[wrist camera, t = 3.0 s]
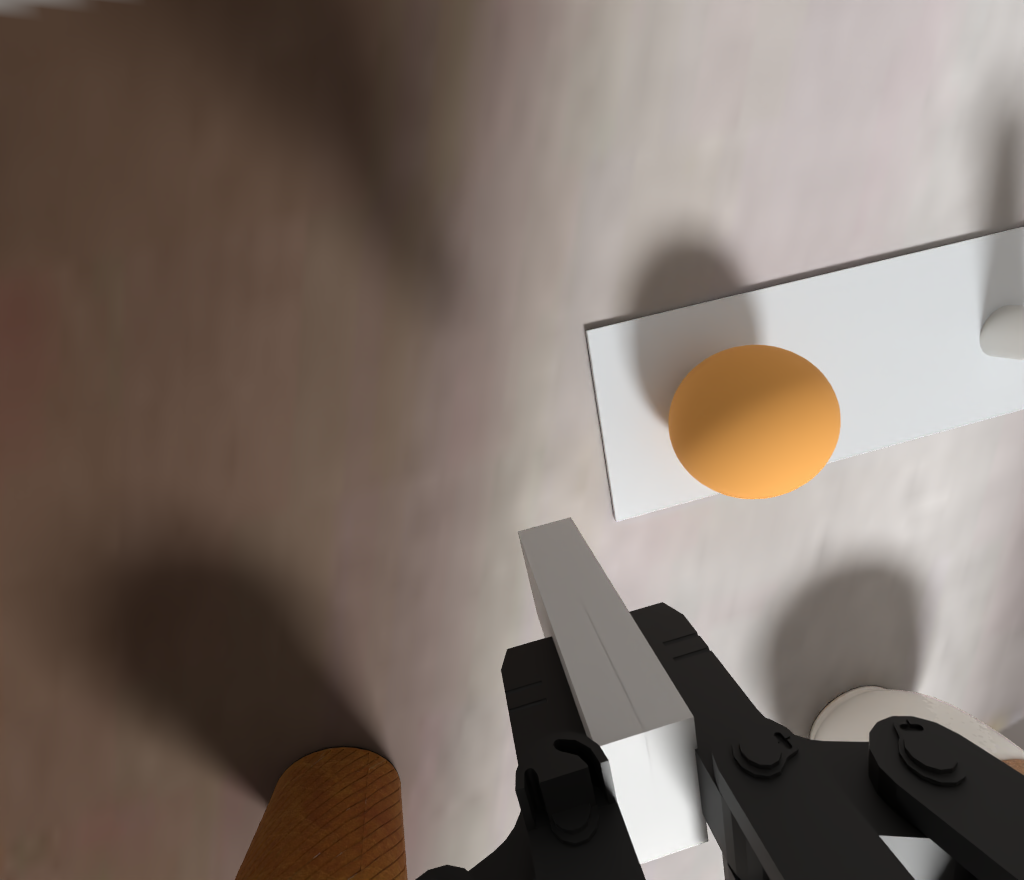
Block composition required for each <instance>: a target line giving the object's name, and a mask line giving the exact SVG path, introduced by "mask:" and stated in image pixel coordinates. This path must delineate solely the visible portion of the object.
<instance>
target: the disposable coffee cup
mask: <svg viewBox="0 0 1024 880" xmlns="http://www.w3.org/2000/svg"><path fill="white" fill-rule="evenodd" d="M235 880H407V868H406V854H405V841H404V827H403V813H402V799H401V782H400V779H399V776H398V773H397V771H396V770H395V769H394V767H393V766H392V764H390V763H389V762H388V761H387V760H386V759H384V758H383V757H381V756H379V755H378V754H376V753H373V752H371V751H368V750H363V749H358V748H349V747H340V748H330V749H326V750H322V751H318V752H315V753H312V754H310V755H307V756H305V757H303V758H301V759H300V760H298V761H297V762H295V763H294V764H292V765H291V766H290V767H289V768H288V769H287V770H286V771H285V772H284V773H283V775H282V776H281V777H280V779H279V780H278V783H277V785H276V787H275V790H274V792H273V794H272V797H271V799H270V802H269V804H268V806H267V808H266V811H265V813H264V815H263V818H262V820H261V822H260V824H259V826H258V829H257V831H256V833H255V836H254V838H253V840H252V842H251V845H250V847H249V849H248V851H247V854H246V856H245V858H244V861H243V863H242V865H241V867H240V869H239V871H238V874H237V876H236V878H235Z"/></svg>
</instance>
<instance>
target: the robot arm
mask: <svg viewBox="0 0 1024 880" xmlns="http://www.w3.org/2000/svg"><path fill="white" fill-rule="evenodd" d="M518 534H519V538H520V542H521V547H522V551H523V555H524V559H525V564H526V568H527V572H528V576H529V581H530V585H531V589H532V594H533V598H534V602H535V606H536V611H537V614H538V617H539V620H540V624H541V627H542V630H543V633H544V636H545V638H544V639H540V640H537V641H534V642H530V643H527V644H523V645H520V646H516V647H513V648H510V649H507V652H506V655H505V658H504V662H503V665H502V669H501V672H502V678H503V683H504V689H505V694H506V700H507V705H508V710H509V716H510V722H511V727H512V733H513V738H514V744H515V749H516V755H517V760H518V768H517V770H516V786H515V791H516V794H517V798H518V801H519V804H520V808H521V812H520V815H519V817H518V820H517V822H516V825H515V827H514V829H513V830H512V831H511V833H510V834H509V836H508V837H507V839H506V840H505V841H504V842H503V843H502V844H501V845H500V846H499V847H498V848H497V849H496V850H495V851H494V852H493V853H491V854H490V855H489V856H488V857H486V858H485V859H484V860H482V861H481V862H480V863H478V864H477V865H476V866H475V867H473V868H472V869H471V870H469V871H467V870H466V869H464V868H460V867H455V866H450V865H445V866H441V867H437V868H434V869H430V870H428V871H426V872H425V873H424V874H422V875H421V876H420V877H418V878H417V879H416V880H646V879H645V877H644V874H643V871H642V868H641V866H640V864H643V863H646V862H649V861H652V860H655V859H658V858H661V857H663V856H666V855H669V854H672V853H675V852H678V851H681V850H684V849H687V848H690V847H693V846H696V845H699V844H702V843H705V842H708V834H707V825H706V822H707V823H708V825H709V827H710V829H711V831H712V833H713V835H714V837H715V839H716V841H717V843H718V845H719V847H720V849H721V850H722V855H723V865H724V874H725V880H1024V775H1023V774H1021V773H1020V772H1018V771H1017V770H1015V769H1013V768H1012V767H1010V766H1009V765H1007V764H1006V763H1004V762H1002V761H1001V760H999V759H998V758H996V757H995V756H993V755H991V754H990V753H988V752H987V751H985V750H984V749H982V748H980V747H979V746H977V745H976V744H974V743H972V742H971V741H969V740H968V739H966V738H965V737H963V736H961V735H960V734H958V733H956V732H954V731H952V730H950V729H948V728H946V727H944V726H942V725H940V724H938V723H936V722H933V721H929V720H925V719H921V718H918V717H914V716H891V717H888V718H886V719H883V720H880V721H878V722H877V723H876V724H875V725H874V727H873V728H872V730H871V731H870V732H869V742H850V741H820V740H811V739H806V738H803V737H800V736H796V735H794V734H793V733H792V732H791V731H790V730H789V729H787V728H786V727H784V726H782V725H780V724H778V723H776V722H774V721H772V720H770V719H767V718H765V717H764V716H763V715H762V714H761V713H760V712H759V711H758V710H757V709H756V707H755V706H754V705H753V703H752V702H751V701H750V700H749V698H748V697H747V696H746V694H745V693H744V692H743V691H742V689H741V688H740V687H739V686H738V684H737V683H736V682H735V680H734V679H733V678H732V677H731V675H730V674H729V673H728V671H727V670H726V669H725V668H724V666H723V665H722V664H721V662H720V661H719V660H718V659H717V657H716V656H715V655H714V653H713V652H712V651H710V650H709V647H708V646H707V644H706V643H705V642H704V641H703V639H702V638H701V637H700V636H698V634H697V632H696V630H695V629H694V628H693V627H692V625H691V624H690V623H689V621H688V620H687V619H686V618H685V616H684V615H683V614H681V613H680V612H678V611H676V610H675V609H673V608H671V607H670V606H668V605H666V604H665V603H663V602H662V603H658V604H655V605H651V606H648V607H645V608H641V609H638V610H634V611H631V612H629V611H628V609H627V608H626V606H625V605H624V603H623V601H622V600H621V598H620V596H619V595H618V593H617V592H616V590H615V588H614V587H613V585H612V583H611V582H610V580H609V579H608V577H607V575H606V574H605V572H604V571H603V569H602V567H601V566H600V564H599V562H598V561H597V559H596V558H595V556H594V554H593V553H592V551H591V549H590V548H589V546H588V545H587V543H586V541H585V540H584V538H583V536H582V535H581V533H580V532H579V530H578V528H577V527H576V525H575V524H574V522H573V520H572V519H571V517H570V518H567V519H563V520H559V521H555V522H552V523H548V524H544V525H541V526H537V527H533V528H530V529H526V530H522V531H519V532H518Z"/></svg>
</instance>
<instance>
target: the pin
mask: <svg viewBox="0 0 1024 880" xmlns="http://www.w3.org/2000/svg"><path fill="white" fill-rule="evenodd" d="M980 346H981V349H982V351H983V352H984V353H985V354H986V355H988V356H993V357H1001V358H1009V359H1017V360H1024V306H1023V305H1006V306H1003V307H1001V308H999V309H997V310H996V311H994V312H993V313H992V314H991V315H990V316H989V317H988V319H987V320H986V322H985V323H984V325H983V327H982V330H981V334H980Z"/></svg>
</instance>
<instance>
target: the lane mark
mask: <svg viewBox="0 0 1024 880" xmlns="http://www.w3.org/2000/svg"><path fill="white" fill-rule="evenodd" d="M1006 305H1023V306H1024V226H1023V227H1019V228H1015V229H1011V230H1007V231H1002V232H998V233H994V234H990V235H985V236H981V237H977V238H973V239H969V240H964V241H960V242H956V243H952V244H948V245H943V246H939V247H935V248H931V249H927V250H922V251H918V252H914V253H910V254H906V255H901V256H897V257H893V258H889V259H885V260H880V261H876V262H872V263H868V264H864V265H859V266H855V267H851V268H847V269H842V270H838V271H834V272H830V273H826V274H821V275H817V276H813V277H809V278H805V279H800V280H796V281H792V282H788V283H784V284H779V285H775V286H771V287H767V288H763V289H758V290H754V291H750V292H746V293H742V294H737V295H733V296H729V297H725V298H720V299H716V300H712V301H708V302H704V303H699V304H695V305H691V306H687V307H683V308H678V309H674V310H670V311H666V312H662V313H657V314H653V315H649V316H645V317H641V318H636V319H632V320H628V321H624V322H620V323H615V324H611V325H607V326H603V327H599V328H594V329H590V330H586V337H587V343H588V350H589V356H590V363H591V369H592V376H593V382H594V389H595V395H596V401H597V408H598V414H599V421H600V427H601V434H602V440H603V447H604V453H605V460H606V466H607V473H608V479H609V485H610V492H611V498H612V505H613V511H614V518H615V521H616V522H618V521H622V520H626V519H629V518H633V517H637V516H640V515H644V514H647V513H651V512H655V511H658V510H662V509H665V508H669V507H673V506H676V505H680V504H683V503H687V502H691V501H694V500H698V499H702V498H705V497H709V496H712V495H716V494H720V493H719V492H716V491H714V490H712V489H710V488H708V487H706V486H705V485H703V484H701V483H700V482H699V481H697V480H696V479H695V478H694V477H693V476H692V475H690V474H689V472H688V471H687V470H686V469H685V468H684V467H683V465H682V464H681V462H680V461H679V459H678V458H677V456H676V454H675V452H674V449H673V447H672V444H671V440H670V436H669V423H668V418H669V410H670V406H671V402H672V399H673V397H674V394H675V392H676V390H677V388H678V387H679V385H680V383H681V382H682V380H683V379H684V378H685V377H686V376H687V374H688V373H689V372H690V371H691V370H692V369H693V368H694V367H696V366H697V365H698V364H700V363H701V362H702V361H703V360H705V359H707V358H708V357H710V356H712V355H714V354H716V353H718V352H721V351H723V350H726V349H729V348H733V347H738V346H745V345H768V346H775V347H779V348H782V349H785V350H789V351H791V352H793V353H795V354H797V355H799V356H801V357H803V358H805V359H807V360H808V361H809V362H811V363H812V364H813V365H814V366H816V367H817V368H818V369H819V370H820V371H821V372H822V373H823V374H824V376H825V377H826V378H827V380H828V381H829V383H830V384H831V386H832V388H833V390H834V392H835V394H836V397H837V400H838V403H839V407H840V416H841V427H840V434H839V439H838V442H837V445H836V448H835V450H834V452H833V454H832V456H831V457H830V459H829V461H828V462H827V463H826V464H828V463H832V462H835V461H839V460H842V459H846V458H850V457H853V456H857V455H860V454H864V453H868V452H871V451H875V450H878V449H882V448H886V447H889V446H893V445H897V444H900V443H904V442H907V441H911V440H915V439H918V438H922V437H925V436H929V435H933V434H936V433H940V432H943V431H947V430H951V429H954V428H958V427H962V426H965V425H969V424H972V423H976V422H980V421H983V420H987V419H990V418H994V417H998V416H1001V415H1005V414H1008V413H1012V412H1016V411H1019V410H1023V409H1024V360H1017V359H1009V358H1001V357H993V356H988V355H986V354H985V353H984V352H983V351H982V349H981V346H980V334H981V330H982V327H983V325H984V323H985V322H986V320H987V319H988V317H989V316H990V315H991V314H992V313H993V312H994V311H996V310H997V309H999V308H1001V307H1003V306H1006Z"/></svg>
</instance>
